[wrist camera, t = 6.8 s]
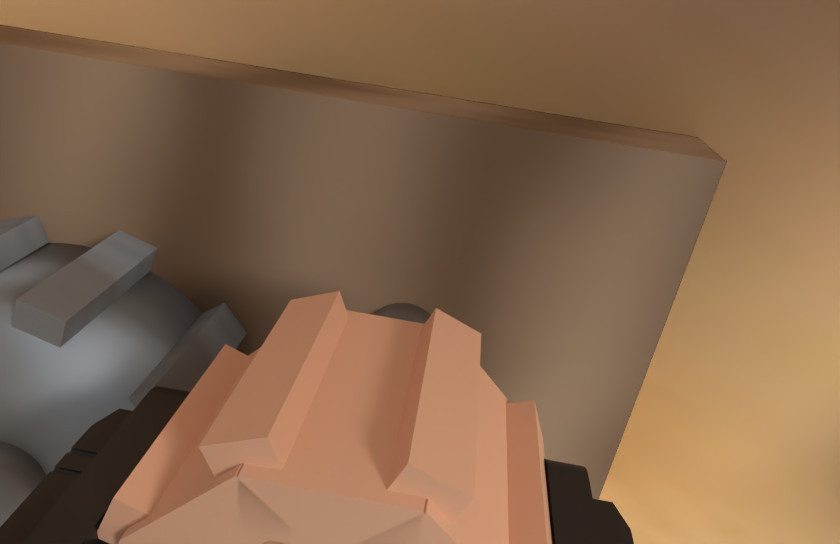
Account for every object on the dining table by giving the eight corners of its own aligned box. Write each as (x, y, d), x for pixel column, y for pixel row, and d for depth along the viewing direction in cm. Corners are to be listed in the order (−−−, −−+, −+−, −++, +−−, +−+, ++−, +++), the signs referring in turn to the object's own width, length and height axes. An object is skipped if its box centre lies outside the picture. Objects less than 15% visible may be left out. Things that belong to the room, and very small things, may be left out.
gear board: (698, 137, 14) (837, 253, 8) (556, 542, 20) (577, 767, 15) (-187, -5, 15) (-617, 9, 9) (-58, 423, 21) (-264, 589, 16)
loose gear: (573, 325, 10) (615, 516, 7) (500, 571, 13) (501, 795, 10) (209, 261, 10) (61, 411, 7) (216, 516, 13) (115, 714, 10)
